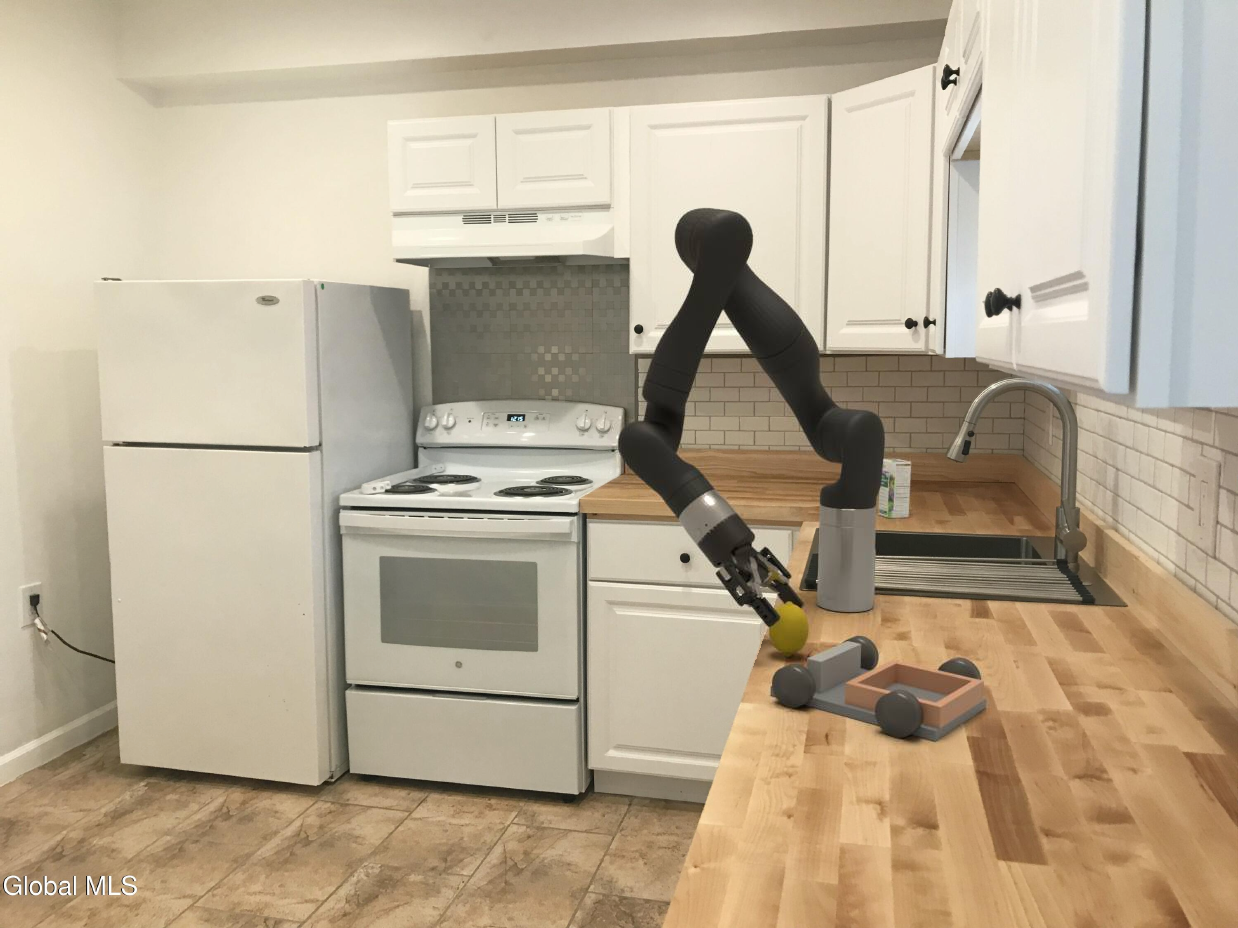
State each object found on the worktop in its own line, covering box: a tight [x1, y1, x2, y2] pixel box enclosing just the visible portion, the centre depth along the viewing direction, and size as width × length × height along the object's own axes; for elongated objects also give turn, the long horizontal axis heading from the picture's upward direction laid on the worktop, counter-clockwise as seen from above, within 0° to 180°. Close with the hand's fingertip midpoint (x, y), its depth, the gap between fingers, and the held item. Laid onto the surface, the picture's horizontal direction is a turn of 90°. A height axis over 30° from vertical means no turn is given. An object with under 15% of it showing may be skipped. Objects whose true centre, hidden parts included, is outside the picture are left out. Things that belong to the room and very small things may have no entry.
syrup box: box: [877, 458, 912, 519], centre depth 258 cm, size 6×6×14 cm
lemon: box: [768, 602, 810, 658], centre depth 144 cm, size 6×6×8 cm
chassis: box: [769, 635, 987, 742], centre depth 126 cm, size 18×22×5 cm
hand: (787, 616), depth 144 cm, fingers open, 8 cm apart
